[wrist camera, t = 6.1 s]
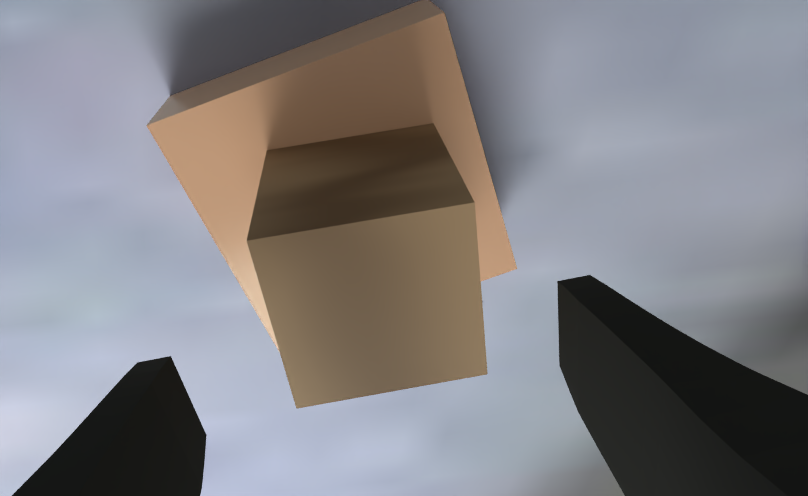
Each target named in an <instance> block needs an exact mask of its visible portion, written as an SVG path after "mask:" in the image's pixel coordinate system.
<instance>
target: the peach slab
mask: <svg viewBox="0 0 808 496" xmlns="http://www.w3.org/2000/svg"><path fill="white" fill-rule="evenodd" d="M431 123H434V125H435V127H436V129H437V131H438V133H439V135H440V137H441V138H442V140H443V142H444V144H445V146H446V148H447V150H448V152H449V154H450V156H451V158H452V160H453V162H454V163H455V165H456V167H457V169H458V171H459V173H460V175H461V177H462V179H463V181H464V183H465V185H466V187H467V189H468V190H469V192H470V194H471V196H472V198H473V200H474V202H475V213H476V226H477V240H478V254H479V267H480V281H483V280H486V279H489V278H492V277H495V276H498V275H500V274H503V273H506V272H509V271H512V270H515V269H517V267H516V263H515V260H514V256H513V253H512V249H511V246H510V242H509V238H508V235H507V231H506V228H505V224H504V221H503V217H502V214H501V210H500V207H499V203H498V200H497V196H496V193H495V189H494V186H493V182H492V179H491V175H490V172H489V168H488V164H487V161H486V157H485V154H484V150H483V147H482V143H481V140H480V136H479V133H478V129H477V126H476V122H475V119H474V115H473V112H472V108H471V105H470V101H469V97H468V94H467V90H466V87H465V83H464V80H463V76H462V73H461V69H460V66H459V62H458V59H457V55H456V52H455V48H454V45H453V41H452V38H451V34H450V31H449V27H448V23H447V20H446V16H445V13H444V12H443V11H442V10H441V9H440V8H438V7H437V6H436V5H435V4H434V3H432V2H431V1H430V0H420V1H417V2H415V3H412V4H410V5H407V6H404V7H402V8H399V9H396V10H394V11H391V12H389V13H386V14H383V15H381V16H378V17H375V18H373V19H370V20H368V21H365V22H362V23H360V24H357V25H354V26H352V27H349V28H347V29H344V30H341V31H339V32H336V33H333V34H331V35H328V36H326V37H323V38H320V39H318V40H315V41H313V42H310V43H307V44H305V45H302V46H299V47H297V48H294V49H292V50H289V51H286V52H284V53H281V54H278V55H276V56H273V57H271V58H268V59H265V60H263V61H260V62H257V63H255V64H252V65H250V66H247V67H244V68H242V69H239V70H236V71H234V72H231V73H229V74H226V75H223V76H221V77H218V78H215V79H213V80H210V81H208V82H205V83H202V84H200V85H197V86H195V87H192V88H189V89H187V90H184V91H181V92H179V93H176V94H174V95H171V96H170V97H169V98H168V99H167V100H166V102H165V103H164V104H163V105H162V107H161V108H160V109H159V110H158V112H157V113H156V114H155V115H154V117H153V118H152V119H151V120H150V122H149V123H148V124H147V127H148V129H149V130H150V132H151V134H152V136H153V137H154V139H155V141H156V142H157V144H158V146H159V147H160V149H161V151H162V153H163V154H164V156H165V158H166V159H167V161H168V163H169V164H170V166H171V168H172V170H173V171H174V173H175V175H176V176H177V178H178V180H179V182H180V183H181V185H182V187H183V188H184V190H185V192H186V193H187V195H188V197H189V199H190V200H191V202H192V204H193V205H194V207H195V209H196V211H197V212H198V214H199V216H200V217H201V219H202V221H203V222H204V224H205V226H206V228H207V229H208V231H209V233H210V234H211V236H212V238H213V239H214V241H215V243H216V245H217V246H218V248H219V250H220V251H221V253H222V255H223V257H224V258H225V260H226V262H227V263H228V265H229V267H230V268H231V270H232V272H233V274H234V275H235V277H236V279H237V280H238V282H239V284H240V286H241V287H242V289H243V291H244V292H245V294H246V296H247V297H248V299H249V301H250V303H251V304H252V306H253V308H254V309H255V311H256V313H257V314H258V316H259V318H260V320H261V321H262V323H263V325H264V326H265V328H266V330H267V332H268V333H269V335H270V337H271V338H272V340H273V342H274V343H275V345H276V347H277V349H278V350H279V348H278V345H277V341H276V338H275V335H274V331H273V328H272V325H271V321H270V318H269V314H268V311H267V308H266V304H265V301H264V298H263V294H262V291H261V288H260V284H259V281H258V278H257V274H256V271H255V268H254V264H253V261H252V258H251V254H250V251H249V248H248V244H247V236H248V232H249V227H250V223H251V218H252V214H253V209H254V205H255V201H256V196H257V192H258V187H259V183H260V178H261V174H262V169H263V165H264V160H265V156H266V151H267V150H271V149H278V148H284V147H290V146H296V145H302V144H308V143H314V142H321V141H327V140H333V139H339V138H345V137H351V136H358V135H364V134H370V133H376V132H382V131H388V130H395V129H401V128H407V127H413V126H419V125H425V124H431ZM279 352H280V351H279Z"/></svg>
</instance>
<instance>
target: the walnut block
mask: <svg viewBox="0 0 808 496" xmlns="http://www.w3.org/2000/svg"><path fill="white" fill-rule="evenodd" d="M247 244H248V248H249V251H250V254H251V258H252V261H253V264H254V268H255V271H256V274H257V278H258V281H259V284H260V288H261V291H262V294H263V298H264V301H265V304H266V308H267V311H268V314H269V318H270V321H271V325H272V328H273V331H274V335H275V338H276V341H277V345H278V348H279V351H280V355H281V358H282V361H283V365H284V368H285V371H286V375H287V378H288V381H289V385H290V388H291V391H292V395H293V398H294V401H295V405H296V408H302V407H308V406H314V405H319V404H325V403H330V402H336V401H341V400H347V399H352V398H358V397H363V396H369V395H375V394H380V393H386V392H391V391H397V390H402V389H408V388H413V387H419V386H424V385H430V384H436V383H441V382H447V381H452V380H458V379H463V378H469V377H474V376H480V375H486V374H487V362H486V349H485V335H484V321H483V308H482V294H481V281H480V267H479V254H478V240H477V226H476V213H475V202H474V200H473V198H472V196H471V194H470V192H469V190H468V189H467V187H466V185H465V183H464V181H463V179H462V177H461V175H460V173H459V171H458V169H457V167H456V165H455V163H454V162H453V160H452V158H451V156H450V154H449V152H448V150H447V148H446V146H445V144H444V142H443V140H442V138H441V137H440V135H439V133H438V131H437V129H436V127H435V125H434V123H431V124H425V125H419V126H413V127H407V128H401V129H395V130H388V131H382V132H376V133H370V134H364V135H358V136H351V137H345V138H339V139H333V140H327V141H321V142H314V143H308V144H302V145H296V146H290V147H284V148H278V149H271V150H267V151H266V156H265V160H264V165H263V169H262V174H261V178H260V183H259V187H258V192H257V196H256V201H255V205H254V209H253V214H252V218H251V223H250V227H249V232H248V236H247Z"/></svg>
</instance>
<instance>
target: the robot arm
mask: <svg viewBox="0 0 808 496" xmlns="http://www.w3.org/2000/svg"><path fill="white" fill-rule="evenodd" d="M558 319H559V361H560V368H561V370H562V373H563V375H564V378H565V380H566V383H567V385H568V388H569V391H570V393H571V395H572V398H573V400H574V403H575V405H576V407H577V410H578V412H579V414H580V416H581V418H582V420H583V421H584V423H585V425H586V427H587V429H588V431H589V432H590V434H591V436H592V438H593V440H594V441H595V443H596V445H597V447H598V449H599V450H600V452H601V454H602V456H603V457H604V459H605V461H606V463H607V465H608V466H609V468H610V470H611V472H612V473H613V475H614V477H615V479H616V481H617V482H618V484H619V486H620V488H621V489H622V491H623V493H624V495H625V496H808V395H807V394H804V393H802V392H800V391H798V390H795V389H793V388H791V387H789V386H786V385H784V384H782V383H780V382H777V381H775V380H773V379H771V378H769V377H766V376H764V375H762V374H760V373H758V372H756V371H753V370H751V369H749V368H747V367H745V366H743V365H741V364H739V363H737V362H735V361H733V360H732V359H730V358H728V357H726V356H724V355H722V354H720V353H718V352H716V351H715V350H713V349H711V348H709V347H707V346H705V345H703V344H701V343H700V342H698V341H696V340H694V339H693V338H691V337H689V336H687V335H686V334H684V333H682V332H680V331H679V330H677V329H675V328H674V327H672V326H670V325H669V324H667V323H665V322H664V321H662V320H660V319H659V318H657V317H656V316H654V315H652V314H651V313H649V312H647V311H646V310H644V309H643V308H641V307H640V306H638V305H636V304H635V303H633V302H632V301H630V300H629V299H627V298H625V297H624V296H622V295H621V294H619V293H618V292H616V291H615V290H613V289H611V288H610V287H608V286H607V285H605V284H604V283H602V282H600V281H599V280H597V279H596V278H594V277H592V276H591V275H587V276H582V277H577V278H572V279H567V280H562V281H558ZM205 446H206V433H205V431H204V429H203V427H202V425H201V422H200V420H199V418H198V416H197V413H196V411H195V409H194V407H193V405H192V402H191V400H190V398H189V396H188V393H187V391H186V389H185V387H184V385H183V382H182V380H181V378H180V376H179V373H178V371H177V369H176V367H175V365H174V362H173V360H172V358H171V356H169V357H164V358H159V359H154V360H149V361H143V362H138V363H137V364H136V365H135V366H134V367H133V368H132V369H131V370H130V371H129V372H128V373H127V374H126V375H125V376H124V377H123V378H122V379H121V380H120V381H119V382H118V383H117V384H116V386H115V387H114V388H113V389H112V390H111V391H110V392H109V393H108V394H107V395H106V397H105V398H104V399H103V400H102V401H101V402H100V403H99V404H98V405H97V407H96V408H95V409H94V410H93V411H92V412H91V413H90V414H89V415H88V417H87V418H86V419H85V420H84V421H83V422H82V423H81V424H80V425H79V426H78V427H77V429H76V430H75V431H74V432H73V433H72V434H71V435H70V436H69V437H68V438H67V439H66V441H65V442H64V443H63V444H62V445H61V446H60V447H59V448H58V449H57V450H56V451H55V452H54V454H53V455H52V456H51V457H50V458H49V459H48V460H47V461H46V462H45V463H44V464H43V465H42V466H41V467H40V468H39V469H38V470H37V471H36V472H35V473H34V474H33V475H32V476H31V477H30V478H29V479H28V480H27V481H26V482H25V483H24V484H23V485H22V486H21V487H20V488H19V489H18V490H17V491H16V492H15V493H14V494H13V495H12V496H200V493H201V489H202V480H203V470H204V459H205Z"/></svg>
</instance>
